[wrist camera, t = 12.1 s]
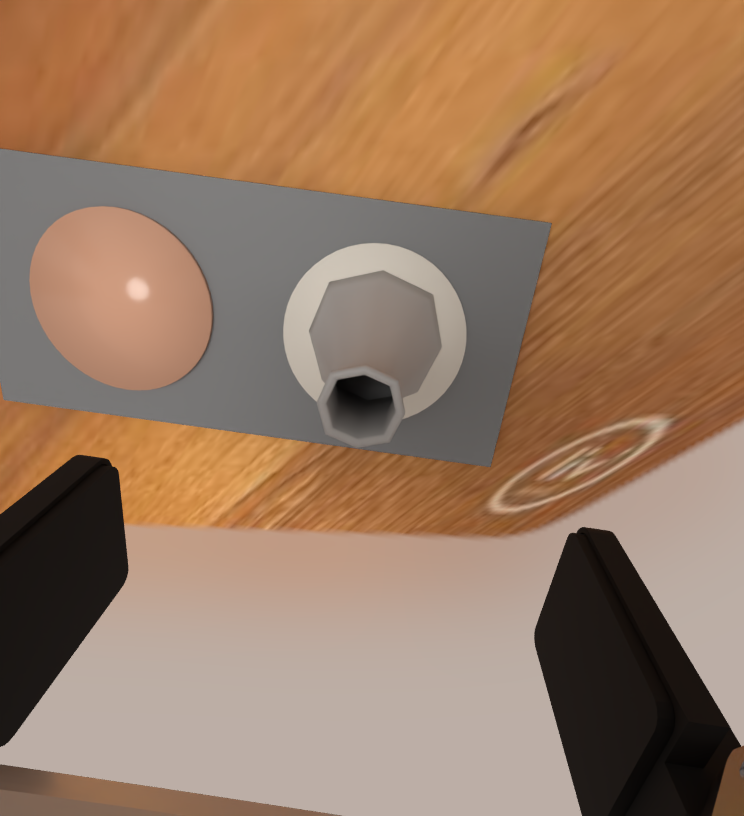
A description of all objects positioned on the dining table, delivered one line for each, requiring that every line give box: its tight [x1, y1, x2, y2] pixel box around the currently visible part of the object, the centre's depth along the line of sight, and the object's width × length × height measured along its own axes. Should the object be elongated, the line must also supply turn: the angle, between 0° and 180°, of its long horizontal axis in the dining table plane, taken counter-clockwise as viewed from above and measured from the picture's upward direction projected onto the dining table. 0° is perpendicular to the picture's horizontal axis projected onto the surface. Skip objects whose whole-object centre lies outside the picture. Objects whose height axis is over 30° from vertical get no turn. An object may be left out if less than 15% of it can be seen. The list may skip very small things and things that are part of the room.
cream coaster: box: [283, 243, 466, 419], centre depth 27 cm, size 10×10×1 cm
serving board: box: [0, 149, 552, 467], centre depth 28 cm, size 30×14×1 cm, turn 83°
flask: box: [309, 270, 442, 448], centre depth 22 cm, size 7×7×10 cm
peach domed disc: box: [29, 206, 213, 390], centre depth 27 cm, size 10×10×1 cm
